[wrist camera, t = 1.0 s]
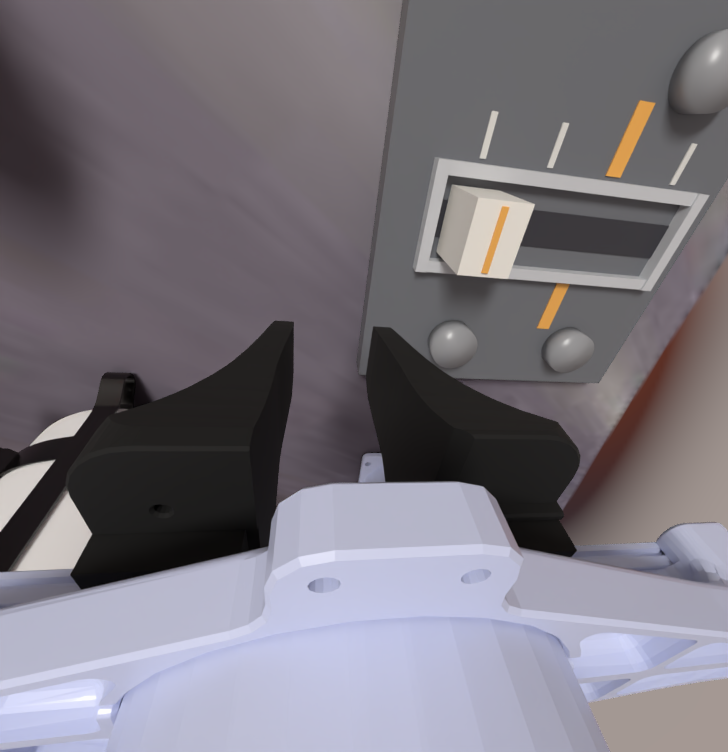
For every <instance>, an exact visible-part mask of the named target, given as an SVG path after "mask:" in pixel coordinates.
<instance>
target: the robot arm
mask: <svg viewBox="0 0 728 752" xmlns="http://www.w3.org/2000/svg"><path fill="white" fill-rule="evenodd" d="M293 348H294V322H288V321H274V322H273V323H272V324H271V325H270V326H269V327H268V328H267V329H266V330H265V332H264V333H263V334H262V335H261V336H260V337H259V338H258V339H257V340H256V341H255V342H254V343H253V344H252V345H251V346H250V347H249V348H248V349H247V350H245V351H244V352H243V353H242V354H241V355H239V356H238V357H237V358H236V359H235V360H234V361H232V362H231V363H229V364H228V365H227V366H225V367H224V368H222V369H221V370H219V371H217V372H216V373H214V374H213V375H211V376H209V377H207V378H205V379H203V380H201V381H199V382H198V383H196V384H194V385H192V386H190V387H188V388H186V389H184V390H181V391H179V392H177V393H174V394H172V395H169V396H167V397H164V398H162V399H159V400H156V401H154V402H151V403H148V404H145V405H141V406H138V407H135V408H132V409H128V410H125V411H122V412H119V413H115V414H111V415H109V416H108V417H107V418H106V419H105V420H104V422H103V423H102V424H101V425H100V427H99V428H98V429H97V430H96V431H95V433H94V434H93V436H92V437H91V439H90V440H89V442H88V443H87V444H86V446H85V447H84V449H83V450H82V452H81V453H80V455H79V456H78V457H77V459H76V460H75V462H74V463H73V465H72V466H71V467H70V469H69V470H68V472H67V477H66V487H67V490H68V493H69V496H70V497H71V499H72V501H73V502H74V504H75V506H76V508H77V509H78V511H79V513H80V514H81V516H82V518H83V519H84V521H85V523H86V525H87V526H88V528H89V530H90V531H91V533H92V535H91V537H90V539H89V541H88V543H87V544H86V546H85V548H84V550H83V552H82V554H81V556H80V557H79V559H78V561H77V563H76V565H75V567H74V568H73V569H55V570H33V571H11V572H0V752H610V750H609V748H608V746H607V744H606V741H605V739H604V737H603V735H602V733H601V730H600V728H599V726H598V724H597V722H596V719H595V718H594V715H593V713H592V711H591V709H590V706H589V704H588V703H589V702H594V701H599V700H605V699H609V698H614V697H620V696H624V695H630V694H635V693H640V692H645V691H650V690H656V689H661V688H667V687H672V686H678V685H684V684H691V683H697V682H703V681H710V680H717V679H725V678H728V530H727V529H725V527H724V526H723V525H722V524H721V523H716V522H705V523H683V524H678V525H675V526H673V527H670V528H669V529H667V530H666V531H665V532H663V533H662V534H661V535H660V537H659V538H658V539H657V541H656V542H647V543H624V544H603V545H580V546H574V544H573V543H572V541H571V539H570V538H569V537H568V534H567V533H566V531H565V529H564V528H563V526H562V524H561V523H560V521H559V520H560V519H562V518H563V517H564V514H563V511H562V509H561V508H560V506H559V504H558V503H557V500H558V498H559V497H560V495H561V494H562V493H563V491H564V490H565V488H566V487H567V486H568V484H569V483H570V481H571V480H572V479H573V477H574V475H575V473H576V471H577V469H578V467H579V463H580V454H579V450H578V448H577V446H576V445H575V444H574V443H573V441H572V440H571V439H570V437H569V436H568V435H567V434H566V432H565V431H564V430H563V429H562V427H561V426H560V425H559V423H558V422H556V421H553V420H550V419H546V418H543V417H540V416H537V415H534V414H531V413H527V412H524V411H521V410H519V409H516V408H514V407H511V406H509V405H506V404H504V403H501V402H499V401H496V400H494V399H492V398H490V397H487V396H485V395H483V394H481V393H479V392H477V391H475V390H473V389H471V388H470V387H468V386H466V385H464V384H462V383H461V382H459V381H458V380H456V379H454V378H453V377H451V376H449V375H448V374H446V373H445V372H443V371H442V370H441V369H439V368H438V367H437V366H435V365H434V364H433V363H431V362H430V361H429V360H427V359H426V358H425V357H424V356H422V355H421V354H420V353H419V352H418V351H417V350H415V349H414V348H413V347H412V346H411V345H410V344H409V343H408V342H407V341H405V340H404V339H403V338H402V337H401V336H400V335H399V334H398V333H397V332H396V331H394V330H393V329H392V328H391V327H375V326H373V330H372V337H371V343H370V350H369V357H368V363H367V370H366V383H367V393H368V400H369V404H370V409H371V413H372V417H373V421H374V425H375V429H376V433H377V437H378V441H379V445H380V450H381V453H366V454H364V455H363V457H362V462H361V468H360V474H359V480H358V482H357V483H328V484H323V485H317V486H311V487H306V488H303V489H301V490H300V491H298V492H297V493H295V494H293V495H292V496H290V497H289V498H287V499H285V500H284V501H282V502H280V503H279V504H278V507H277V509H276V511H275V508H276V496H277V484H278V473H279V462H280V454H281V448H282V443H283V438H284V433H285V428H286V423H287V418H288V413H289V408H290V403H291V397H292V386H293ZM367 462H368V463H367Z"/></svg>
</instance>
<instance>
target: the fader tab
mask: <svg viewBox="0 0 728 752" xmlns="http://www.w3.org/2000/svg"><path fill="white" fill-rule="evenodd" d="M534 206H535V204H533V203H530V202H528V201H525V200H523V199H520V198H518V197H515V196H513V195H510V194H508V193H505V192H502V191H500V190H492V189H484V188H476V187H468V186H460V185H452V186H451V191H450V195H449V199H448V203H447V208H446V212H445V216H444V220H443V225H442V229H441V233H440V238H439V242H438V246H437V250H436V252H437V253H438V254H439V255H440V256H441V258H442V259H443V260H444V261H445V262H446V263H447V264H448V265H449V267H450V268H451V269H452V270H453V271H454V272H455V273H456V274H457V275H464V276H476V277H488V278H500V279H508V277H509V275H510V272H511V269H512V266H513V264H514V261H515V258H516V255H517V253H518V250H519V247H520V244H521V242H522V239H523V236H524V233H525V231H526V228H527V225H528V223H529V220H530V217H531V214H532V212H533V209H534Z"/></svg>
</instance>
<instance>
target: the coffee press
mask: <svg viewBox="0 0 728 752" xmlns="http://www.w3.org/2000/svg"><path fill="white" fill-rule="evenodd" d="M134 393H135V378H134V376H133V374H131V373H111V372H107V373H105V374H104V375H103V376H102V379H101V382H100V387H99V392H98V396H97V400H96V403H95V406H94V408H93V410H89V411H84V412H80V413H76V414H73V415H70V416H67V417H65V418H63V419H60V420H59V421H57V422H55V423H53V424H52V425H50V426H49V427H48V428H47V429H45V430H44V431H43V432H42V433H41V434H40V435H39V436H38V437H37V438H36V439H35V440H34V441H33V443H32V444H31V445H30V446H29V447H27V448H25V449H23V450H21V451H20V452H15V451H13V450H10V449H3V448H0V572H11V571H33V570H55V569H73V568H74V567H75V565H76V563H77V561H78V559H79V557H80V556H81V554H82V552H83V550H84V548H85V546H86V544H87V543H88V541H89V539H90V537H91V535H92V533H91V531H90V530H89V528H88V526H87V525H86V523H85V521H84V519H83V518H82V516H81V514H80V513H79V511H78V509H77V508H76V506H75V504H74V502H73V501H72V499H71V497H70V496H69V493H68V490H67V487H66V477H67V472H68V470H69V469H70V467H71V466H72V465H73V463H74V462H75V460H76V459H77V457H78V456H79V455H80V453H81V452H82V450H83V449H84V447H85V446H86V444H87V443H88V442H89V440H90V439H91V437H92V436H93V434H94V433H95V431H96V430H97V429H98V428H99V427H100V425H101V424H102V423H103V422H104V420H105V419H106V418H107V417H108V416H109V415H111V414H115V413H119V412H122V411H125V410H128V409H132V408H134ZM4 473H5V474H4Z"/></svg>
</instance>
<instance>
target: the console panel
mask: <svg viewBox="0 0 728 752" xmlns="http://www.w3.org/2000/svg"><path fill="white" fill-rule="evenodd" d="M727 179H728V0H403V2H402V10H401V18H400V26H399V34H398V41H397V49H396V57H395V65H394V73H393V81H392V88H391V96H390V104H389V112H388V120H387V127H386V135H385V143H384V151H383V159H382V167H381V174H380V182H379V190H378V198H377V206H376V213H375V221H374V229H373V237H372V245H371V253H370V260H369V268H368V276H367V284H366V292H365V300H364V307H363V315H362V323H361V331H360V339H359V346H358V354H357V369H358V375H366V370H367V363H368V357H369V350H370V343H371V337H372V330H373V326H375V327H391V328H392V329H393V330H394V331H396V332H397V333H398V334H399V335H400V336H401V337H402V338H403V339H404V340H405V341H407V342H408V343H409V344H410V345H411V346H412V347H413V348H414V349H415V350H417V351H418V352H419V353H420V354H421V355H422V356H424V357H425V358H426V359H427V360H429V361H430V362H431V363H433V364H434V365H435V366H437V367H438V368H439V369H441V370H442V371H443V372H445V373H446V374H448V375H449V376H451V377H453V378H465V379H494V380H522V381H551V382H579V383H599V382H600V380H601V379H602V377H603V376H604V374H605V372H606V371H607V369H608V368H609V366H610V364H611V363H612V361H613V360H614V358H615V356H616V355H617V353H618V352H619V350H620V349H621V347H622V345H623V344H624V342H625V341H626V339H627V337H628V336H629V334H630V333H631V331H632V329H633V328H634V326H635V325H636V323H637V322H638V320H639V318H640V317H641V315H642V314H643V312H644V310H645V309H646V307H647V306H648V304H649V302H650V301H651V299H652V298H653V296H654V294H655V293H656V291H657V290H658V288H659V287H660V285H661V283H662V282H663V280H664V279H665V277H666V275H667V274H668V272H669V271H670V269H671V267H672V266H673V264H674V263H675V261H676V260H677V258H678V256H679V255H680V253H681V252H682V250H683V248H684V247H685V245H686V244H687V242H688V240H689V239H690V237H691V236H692V234H693V233H694V231H695V229H696V228H697V226H698V225H699V223H700V221H701V220H702V218H703V217H704V215H705V213H706V212H707V210H708V209H709V207H710V206H711V204H712V202H713V201H714V199H715V198H716V196H717V194H718V193H719V191H720V190H721V188H722V186H723V185H724V183H725V182H726V180H727ZM452 185H460V186H468V187H476V188H484V189H492V190H500V191H502V192H505V193H508V194H510V195H513V196H515V197H518V198H520V199H523V200H525V201H528V202H530V203H533V204H535V206H534V209H533V212H532V214H531V217H530V220H529V223H528V225H527V228H526V231H525V233H524V236H523V239H522V242H521V244H520V247H519V250H518V253H517V255H516V258H515V261H514V264H513V266H512V269H511V272H510V275H509V277H508V279H500V278H488V277H476V276H464V275H457V274H456V273H455V272H454V271H453V270H452V269H451V268H450V267H449V265H448V264H447V263H446V262H445V261H444V260H443V259H442V258H441V256H440V255H439V254H438V253H437V252H436V250H437V246H438V242H439V238H440V233H441V229H442V225H443V220H444V216H445V212H446V208H447V203H448V199H449V195H450V191H451V186H452Z"/></svg>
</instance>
